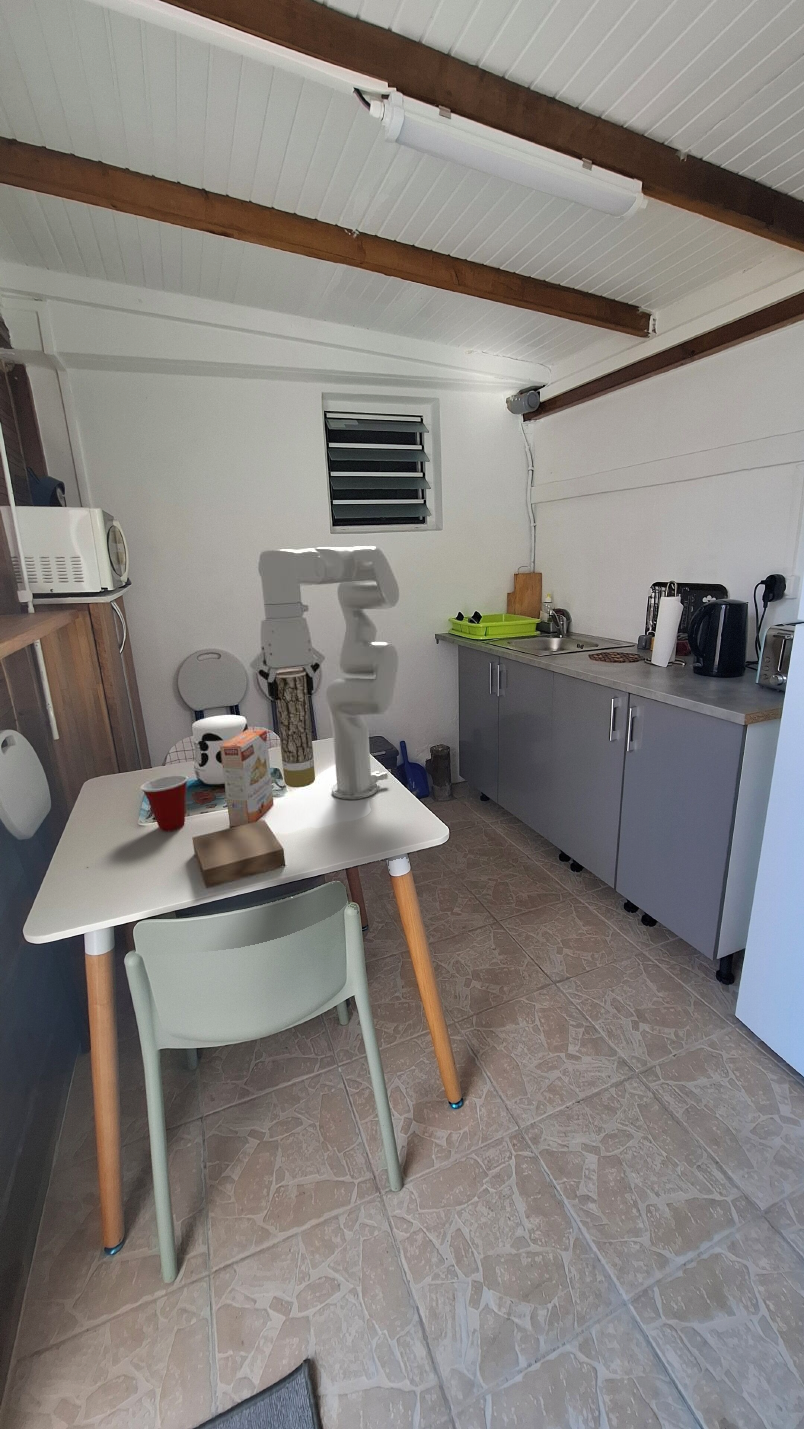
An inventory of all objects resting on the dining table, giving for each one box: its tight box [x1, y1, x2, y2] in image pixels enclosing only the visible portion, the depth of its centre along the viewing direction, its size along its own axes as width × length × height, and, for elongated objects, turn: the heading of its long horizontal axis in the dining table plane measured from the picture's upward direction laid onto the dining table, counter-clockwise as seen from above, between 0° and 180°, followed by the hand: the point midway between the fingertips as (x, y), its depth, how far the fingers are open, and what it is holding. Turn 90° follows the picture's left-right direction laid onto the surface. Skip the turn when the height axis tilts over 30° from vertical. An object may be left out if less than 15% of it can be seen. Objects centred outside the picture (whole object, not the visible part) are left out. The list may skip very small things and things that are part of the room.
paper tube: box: [274, 668, 316, 788], centre depth 120 cm, size 7×7×25 cm
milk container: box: [191, 714, 249, 787], centre depth 165 cm, size 17×17×18 cm
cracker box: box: [220, 729, 274, 827], centre depth 139 cm, size 14×6×21 cm, turn 168°
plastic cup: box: [139, 774, 189, 832], centre depth 136 cm, size 11×11×12 cm
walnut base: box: [191, 819, 286, 889], centre depth 120 cm, size 16×16×4 cm
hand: (291, 696), depth 119 cm, fingers closed on paper tube, 6 cm apart
